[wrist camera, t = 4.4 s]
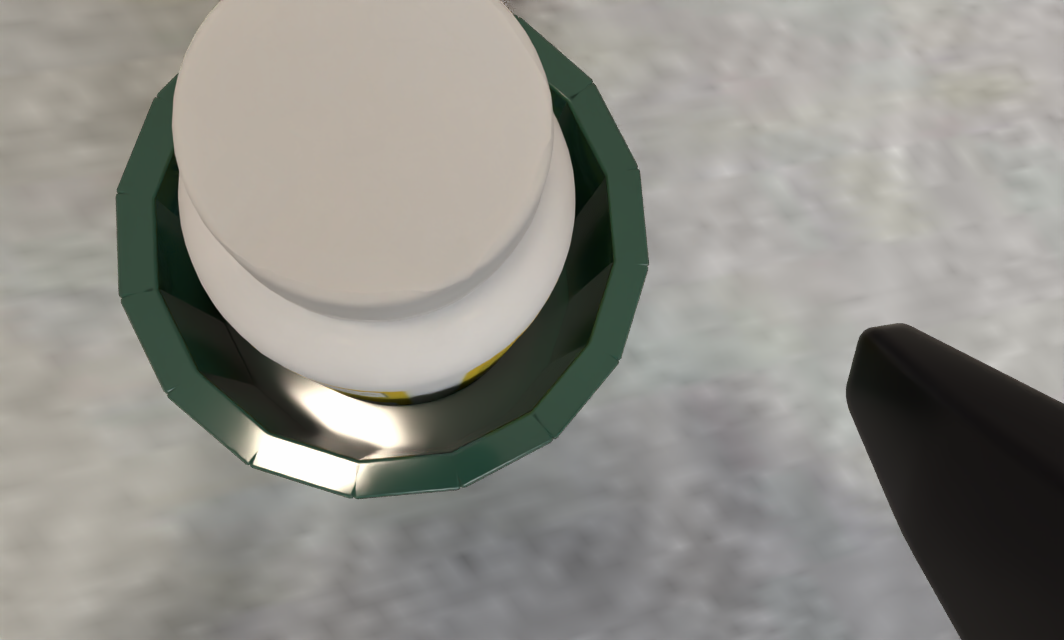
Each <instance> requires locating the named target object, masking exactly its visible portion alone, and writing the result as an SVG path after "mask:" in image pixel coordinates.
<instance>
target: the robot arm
mask: <svg viewBox="0 0 1064 640" xmlns="http://www.w3.org/2000/svg"><path fill="white" fill-rule="evenodd" d="M846 399H847V404H848V408H849V411H850V413H851V416H852V418H853V420H854V423H855V425H856V427H857V430H858V432H859V434H860V437H861V439H862V442H863V444H864V446H865V449H866V451H867V453H868V456H869V458H870V460H871V463H872V465H873V467H874V470H875V472H876V474H877V477H878V479H879V481H880V484H881V486H882V488H883V491H884V493H885V495H886V498H887V500H888V502H889V505H890V507H891V510H892V512H893V514H894V516H895V519H896V521H897V523H898V525H899V527H900V529H901V532H902V534H903V536H904V538H905V540H906V541H907V543H908V545H909V547H910V549H911V551H912V553H913V555H914V556H915V558H916V560H917V562H918V564H919V565H920V567H921V569H922V571H923V572H924V574H925V576H926V578H927V580H928V581H929V583H930V585H931V587H932V588H933V590H934V592H935V594H936V596H937V597H938V599H939V601H940V603H941V604H942V606H943V608H944V610H945V612H946V613H947V615H948V617H949V619H950V620H951V622H952V624H953V626H954V627H955V629H956V631H957V633H958V635H959V636H960V638H961V640H1064V404H1063V403H1061V402H1059V401H1057V400H1055V399H1053V398H1051V397H1049V396H1047V395H1045V394H1043V393H1042V392H1040V391H1038V390H1036V389H1034V388H1032V387H1030V386H1028V385H1026V384H1024V383H1022V382H1020V381H1018V380H1016V379H1014V378H1012V377H1010V376H1008V375H1006V374H1004V373H1002V372H1000V371H998V370H996V369H994V368H992V367H990V366H988V365H986V364H985V363H983V362H981V361H979V360H977V359H975V358H973V357H971V356H969V355H967V354H965V353H963V352H961V351H959V350H957V349H955V348H953V347H951V346H949V345H947V344H945V343H943V342H941V341H939V340H937V339H935V338H933V337H931V336H929V335H927V334H926V333H924V332H922V331H920V330H918V329H916V328H914V327H912V326H909V325H907V324H903V323H896V324H890V325H883V326H877V327H871V328H868V329H866V330H865V331H864V332H863V333H862V334H861V335H860V337H859V340H858V343H857V347H856V351H855V355H854V358H853V362H852V366H851V370H850V374H849V378H848V381H847V386H846Z"/></svg>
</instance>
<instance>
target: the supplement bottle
mask: <svg viewBox="0 0 1064 640" xmlns="http://www.w3.org/2000/svg"><path fill="white" fill-rule="evenodd" d="M172 132H173V143H174V152H175V156H176V160H177V164H178V168H179V184H178V203H179V213H180V222H181V228H182V232H183V236H184V240H185V245H186V247H187V250H188V253H189V256H190V259H191V261H192V264H193V266H194V268H195V271H196V273H197V275H198V278H199V280H200V282H201V284H202V286H203V287H204V289H205V291H206V292H207V294H208V296H209V297H210V299H211V300H212V302H213V304H214V305H215V307H216V308H217V309H218V311H219V312H220V313H221V315H222V316H223V317H224V318H225V319H226V320H227V321H228V322H229V324H230V325H231V326H232V327H233V328H234V329H235V330H236V331H237V332H238V333H239V334H240V335H241V336H242V337H243V338H244V339H246V340H247V341H248V342H249V343H250V344H251V345H252V346H253V347H254V348H256V349H257V350H258V351H259V352H261V353H262V354H263V355H265V356H267V357H268V358H270V359H272V360H273V361H275V362H277V363H278V364H280V365H282V366H283V367H285V368H287V369H289V370H291V371H293V372H295V373H297V374H299V375H301V376H303V377H305V378H308V379H310V380H312V381H314V382H316V383H319V384H321V385H323V386H325V387H327V388H329V389H332V390H334V391H336V392H338V393H340V394H343V395H345V396H348V397H351V398H354V399H357V400H361V401H365V402H369V403H373V404H379V405H412V404H420V403H426V402H430V401H434V400H437V399H441V398H444V397H446V396H448V395H451V394H453V393H455V392H457V391H459V390H461V389H463V388H465V387H467V386H469V385H471V384H472V383H473V382H475V381H476V380H477V379H479V378H480V377H481V376H483V375H484V374H485V373H486V372H487V371H488V370H490V369H491V368H492V367H493V366H494V365H495V364H496V363H497V362H498V361H499V359H500V358H501V357H502V356H503V355H504V354H505V353H506V351H507V350H508V349H509V348H510V347H511V346H512V344H513V343H514V342H515V341H516V340H517V339H518V338H519V337H520V336H521V335H522V334H523V332H524V331H525V330H526V329H527V328H528V327H529V326H530V324H531V323H532V322H533V321H534V319H535V318H536V316H537V315H538V314H539V312H540V310H541V309H542V307H543V306H544V304H545V303H546V301H547V300H548V298H549V296H550V294H551V292H552V290H553V289H554V287H555V285H556V283H557V281H558V278H559V276H560V274H561V272H562V269H563V266H564V263H565V260H566V257H567V254H568V251H569V247H570V243H571V238H572V232H573V227H574V219H575V184H574V174H573V168H572V163H571V159H570V155H569V150H568V147H567V145H566V142H565V139H564V136H563V133H562V131H561V128H560V126H559V123H558V121H557V119H556V117H555V115H554V113H553V107H552V98H551V92H550V89H549V85H548V81H547V78H546V74H545V71H544V69H543V66H542V63H541V61H540V59H539V56H538V54H537V51H536V49H535V47H534V46H533V44H532V42H531V40H530V38H529V37H528V35H527V33H526V32H525V30H524V29H523V27H522V26H521V25H520V23H519V22H518V20H517V19H516V18H515V17H514V15H513V14H512V13H511V12H510V10H509V9H508V8H507V7H506V6H505V5H504V4H503V3H502V2H501V1H500V0H221V1H220V2H219V3H218V4H217V5H216V6H215V7H214V8H213V9H212V10H211V12H210V13H209V14H208V16H207V17H206V19H205V20H204V21H203V23H202V24H201V25H200V27H199V28H198V30H197V32H196V33H195V35H194V37H193V39H192V41H191V43H190V45H189V47H188V49H187V51H186V53H185V56H184V58H183V62H182V65H181V68H180V71H179V74H178V78H177V82H176V87H175V92H174V98H173V115H172Z"/></svg>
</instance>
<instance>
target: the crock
mask: <svg viewBox="0 0 1064 640" xmlns="http://www.w3.org/2000/svg"><path fill="white" fill-rule="evenodd" d="M513 15H514V14H513ZM514 17H515V18H516V19H517V20H518V22H519V23H520V25H521V26H522V27H523V29H524V30H525V32H526V33H527V35H528V37H529V38H530V40H531V42H532V44H533V46H534V47H535V49H536V51H537V54H538V56H539V59H540V61H541V63H542V66H543V69H544V71H545V74H546V78H547V81H548V85H549V89H550V92H551V98H552V107H553V113H554V115H555V117H556V119H557V121H558V123H559V126H560V128H561V131H562V133H563V136H564V139H565V142H566V145H567V147H568V150H569V155H570V159H571V163H572V168H573V174H574V184H575V219H574V227H573V232H572V238H571V243H570V247H569V251H568V254H567V257H566V260H565V263H564V266H563V269H562V272H561V274H560V276H559V278H558V281H557V283H556V285H555V287H554V289H553V290H552V292H551V294H550V296H549V298H548V300H547V301H546V303H545V304H544V306H543V307H542V309H541V310H540V312H539V314H538V315H537V316H536V318H535V319H534V321H533V322H532V323H531V324H530V326H529V327H528V328H527V329H526V330H525V331H524V332H523V334H522V335H521V336H520V337H519V338H518V339H517V340H516V341H515V342H514V343H513V344H512V346H511V347H510V348H509V349H508V350H507V351H506V353H505V354H504V355H503V356H502V357H501V358H500V359H499V361H498V362H497V363H496V364H495V365H494V366H493V367H492V368H491V369H490V370H488V371H487V372H486V373H485V374H484V375H483V376H481V377H480V378H479V379H477V380H476V381H475V382H473V383H472V384H471V385H469V386H467V387H465V388H463V389H461V390H459V391H457V392H455V393H453V394H451V395H448V396H446V397H444V398H441V399H437V400H434V401H430V402H426V403H420V404H412V405H379V404H373V403H369V402H365V401H361V400H357V399H354V398H351V397H348V396H345V395H343V394H340V393H338V392H336V391H334V390H332V389H329V388H327V387H325V386H323V385H321V384H319V383H316V382H314V381H312V380H310V379H308V378H305V377H303V376H301V375H299V374H297V373H295V372H293V371H291V370H289V369H287V368H285V367H283V366H282V365H280V364H278V363H277V362H275V361H273V360H272V359H270V358H268V357H267V356H265V355H263V354H262V353H261V352H259V351H258V350H257V349H256V348H254V347H253V346H252V345H251V344H250V343H249V342H248V341H247V340H246V339H244V338H243V337H242V336H241V335H240V334H239V333H238V332H237V331H236V330H235V329H234V328H233V327H232V326H231V325H230V324H229V322H228V321H227V320H226V319H225V318H224V317H223V316H222V315H221V313H220V312H219V311H218V309H217V308H216V307H215V305H214V304H213V302H212V300H211V299H210V297H209V296H208V294H207V292H206V291H205V289H204V287H203V286H202V284H201V282H200V280H199V278H198V275H197V273H196V271H195V268H194V266H193V264H192V261H191V259H190V256H189V253H188V250H187V247H186V245H185V240H184V236H183V232H182V228H181V222H180V213H179V203H178V184H179V168H178V164H177V160H176V156H175V152H174V143H173V132H172V115H173V98H174V92H175V87H176V82H177V78H178V74H179V73H178V74H177V75H176V76H175V77H174V78H173V79H172V80H171V81H170V82H169V83H168V84H167V85H166V86H165V87H164V88H163V89H162V90H161V91H160V92H159V93H158V94H157V97H155V98H154V99H153V102H152V104H151V107H150V109H149V112H148V114H147V117H146V119H145V122H144V124H143V126H142V129H141V131H140V134H139V136H138V139H137V141H136V144H135V146H134V148H133V151H132V153H131V156H130V158H129V161H128V163H127V166H126V168H125V171H124V173H123V175H122V178H121V180H120V183H119V185H118V188H117V193H118V194H117V195H116V225H117V258H118V291H119V296H120V297H121V298H122V299H121V304H122V306H123V308H124V310H125V312H126V314H127V316H128V319H129V321H130V323H131V325H132V327H133V329H134V331H135V333H136V335H137V337H138V339H139V341H140V343H141V345H142V348H143V350H144V352H145V354H146V356H147V358H148V360H149V362H150V364H151V366H152V368H153V370H154V372H155V374H156V377H157V379H158V381H159V383H160V385H161V387H162V389H163V391H164V392H165V393H166V394H167V396H168V398H169V399H170V400H171V401H172V402H173V403H175V404H176V405H177V406H178V407H179V408H180V409H182V410H183V411H184V412H185V413H186V414H187V415H189V416H190V417H191V418H192V419H193V420H194V421H196V422H197V423H198V424H199V425H200V426H202V427H203V428H204V429H205V430H206V431H207V432H209V433H210V434H211V435H212V436H213V437H214V438H216V439H217V440H218V441H219V442H220V443H221V444H223V445H224V446H225V447H226V448H227V449H228V450H230V451H231V452H232V453H233V454H234V455H235V456H237V457H238V458H239V459H240V460H241V461H242V462H244V463H245V464H246V465H250V466H251V467H252V468H254V469H257V470H261V471H264V472H267V473H270V474H273V475H276V476H280V477H283V478H286V479H289V480H292V481H296V482H299V483H302V484H305V485H308V486H311V487H315V488H318V489H321V490H324V491H327V492H331V493H334V494H337V495H340V496H343V497H347V498H353V497H354V498H355V499H366V498H377V497H388V496H399V495H410V494H421V493H432V492H443V491H454V490H459V489H460V487H462V488H465V487H467V486H469V485H471V484H473V483H475V482H477V481H479V480H481V479H483V478H485V477H486V476H488V475H490V474H492V473H494V472H496V471H498V470H500V469H502V468H504V467H505V466H507V465H509V464H511V463H513V462H515V461H517V460H519V459H521V458H523V457H524V456H526V455H528V454H530V453H532V452H534V451H536V450H538V449H540V448H542V447H543V446H545V445H547V444H549V443H551V442H552V440H553V439H556V438H558V436H559V435H560V434H561V433H562V431H563V430H564V429H565V428H566V427H567V425H568V424H569V423H570V422H571V421H572V419H573V418H574V417H575V416H576V415H577V413H578V412H579V411H580V410H581V409H582V407H583V406H584V405H585V404H586V402H587V401H588V400H589V399H590V398H591V396H592V395H593V394H594V393H595V392H596V390H597V389H598V388H599V387H600V386H601V384H602V383H603V382H604V381H605V380H606V378H607V377H608V376H609V375H610V373H611V372H612V371H613V370H614V369H615V367H616V366H617V365H618V363H619V360H620V359H621V357H622V354H623V351H624V347H625V344H626V341H627V338H628V334H629V331H630V328H631V324H632V321H633V318H634V315H635V311H636V308H637V305H638V301H639V298H640V295H641V292H642V288H643V285H644V282H645V278H646V275H647V272H648V267H647V266H648V265H649V258H648V248H647V237H646V227H645V217H644V207H643V196H642V186H641V176H640V170H639V169H637V168H638V166H637V163H636V161H635V159H634V158H633V156H632V154H631V152H630V150H629V148H628V146H627V144H626V142H625V140H624V138H623V137H622V135H621V133H620V131H619V129H618V127H617V125H616V123H615V121H614V119H613V117H612V115H611V114H610V112H609V110H608V108H607V106H606V104H605V102H604V100H603V98H602V96H601V94H600V93H599V91H598V89H597V87H596V85H595V84H594V83H593V80H592V79H591V78H590V77H589V76H587V75H586V74H585V73H584V72H583V71H582V70H580V69H579V68H578V67H577V66H576V65H575V64H574V63H572V62H571V61H570V60H569V59H568V58H567V57H566V56H564V55H563V54H562V53H561V52H560V51H559V50H557V49H556V48H555V47H554V46H553V45H552V44H551V43H549V42H548V41H547V40H546V39H545V38H544V37H542V36H541V35H540V34H539V33H538V32H537V31H536V30H534V29H533V28H532V27H531V26H530V25H529V24H527V23H526V22H525V21H524V20H523V19H522V18H518V16H517V15H514ZM592 83H593V84H592Z"/></svg>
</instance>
